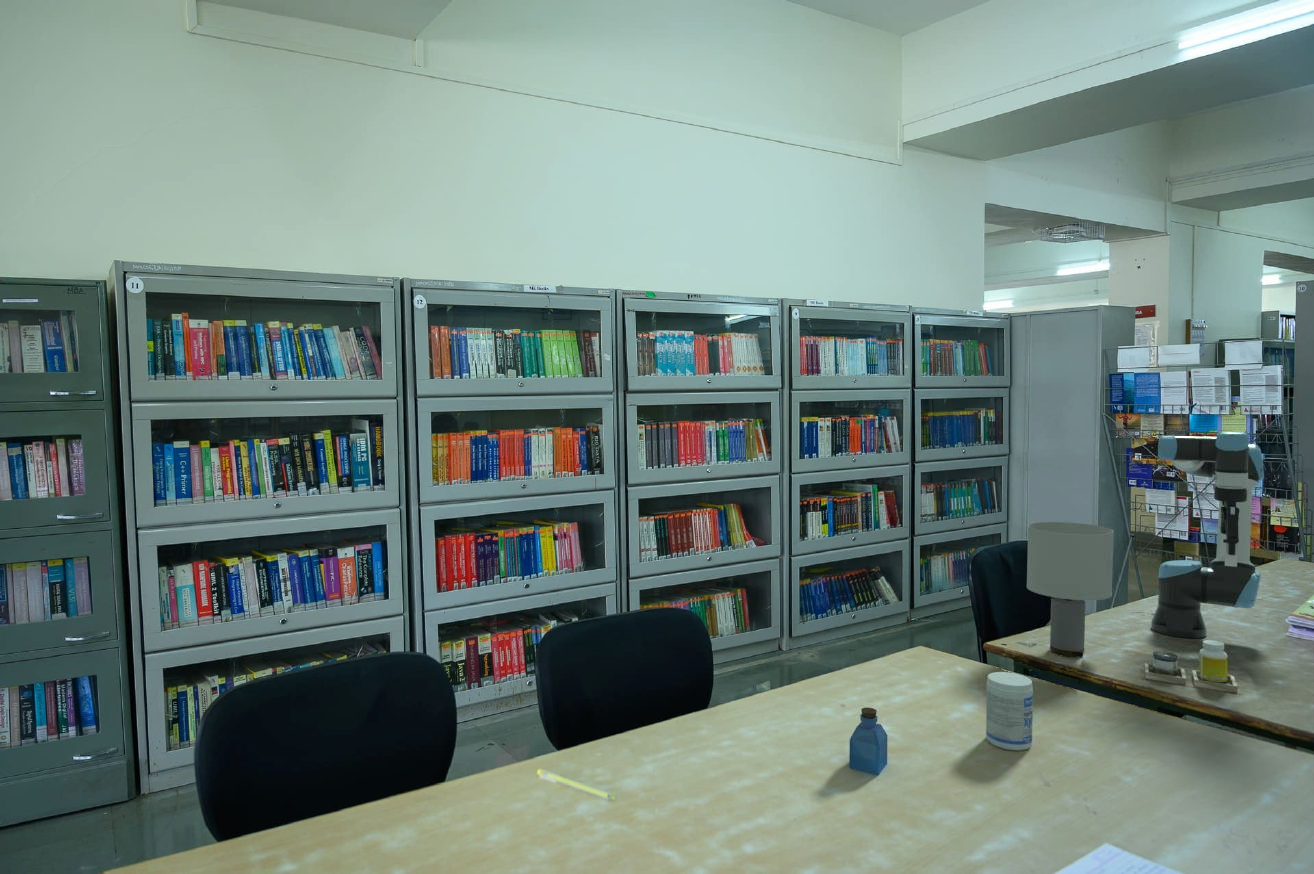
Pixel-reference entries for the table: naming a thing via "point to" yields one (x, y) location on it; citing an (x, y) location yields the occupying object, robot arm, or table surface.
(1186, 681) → the socket board
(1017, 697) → the supplement tub
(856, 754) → the perfume bottle
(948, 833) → the table surface
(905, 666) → the table surface
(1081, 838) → the table surface
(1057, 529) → the lamp
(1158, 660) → the small lidded jar
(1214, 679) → the pill bottle
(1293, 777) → the table surface
